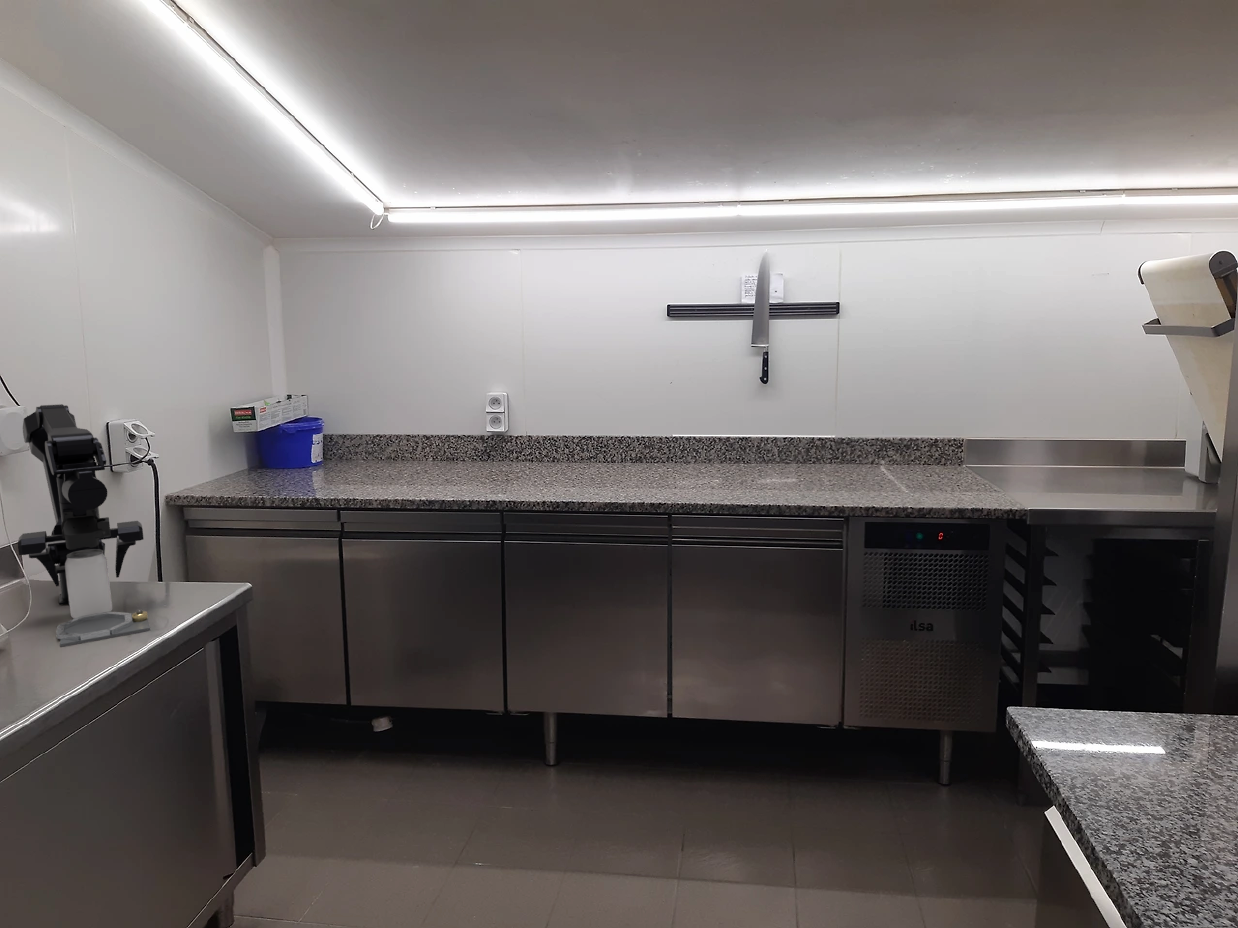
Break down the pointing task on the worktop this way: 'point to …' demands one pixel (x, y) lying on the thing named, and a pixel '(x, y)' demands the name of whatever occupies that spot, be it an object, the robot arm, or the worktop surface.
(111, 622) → the carrier plate
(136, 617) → the brass round knob
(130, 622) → the socket
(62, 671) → the worktop surface
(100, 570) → the can
